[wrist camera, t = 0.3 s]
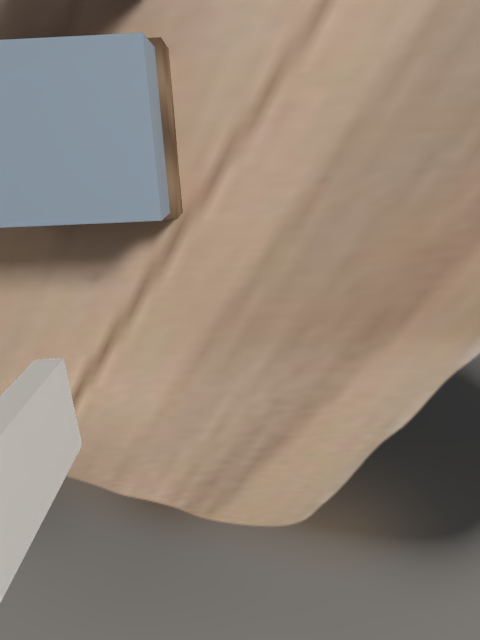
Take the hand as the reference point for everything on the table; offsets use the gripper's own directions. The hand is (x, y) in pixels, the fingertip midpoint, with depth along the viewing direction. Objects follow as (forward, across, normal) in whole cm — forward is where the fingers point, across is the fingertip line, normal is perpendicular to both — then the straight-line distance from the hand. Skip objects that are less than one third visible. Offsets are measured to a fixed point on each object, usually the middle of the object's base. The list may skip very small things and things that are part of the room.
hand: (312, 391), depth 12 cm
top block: (+25, -12, +7) cm, 29 cm away
